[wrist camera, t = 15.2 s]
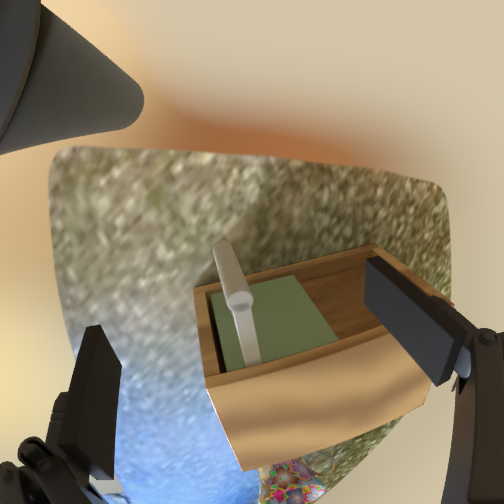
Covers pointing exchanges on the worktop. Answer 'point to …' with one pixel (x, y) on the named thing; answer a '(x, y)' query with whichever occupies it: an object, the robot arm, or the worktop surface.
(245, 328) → the sliding door
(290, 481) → the mug
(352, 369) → the cupboard
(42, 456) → the robot arm
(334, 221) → the worktop surface
